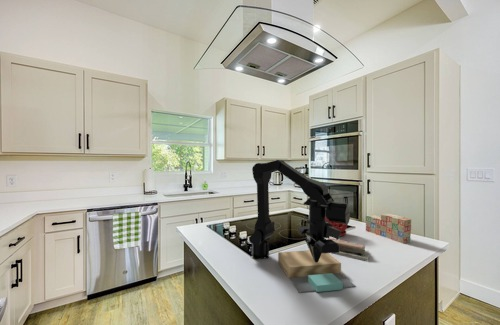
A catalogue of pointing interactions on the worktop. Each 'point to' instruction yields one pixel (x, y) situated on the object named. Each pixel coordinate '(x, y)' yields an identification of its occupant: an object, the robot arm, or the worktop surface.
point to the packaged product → (351, 250)
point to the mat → (305, 286)
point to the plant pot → (338, 226)
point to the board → (307, 264)
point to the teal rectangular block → (325, 282)
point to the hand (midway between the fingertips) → (316, 261)
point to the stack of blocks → (390, 227)
